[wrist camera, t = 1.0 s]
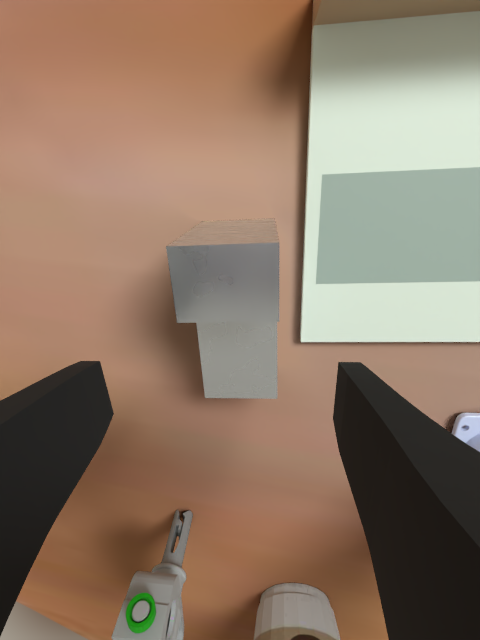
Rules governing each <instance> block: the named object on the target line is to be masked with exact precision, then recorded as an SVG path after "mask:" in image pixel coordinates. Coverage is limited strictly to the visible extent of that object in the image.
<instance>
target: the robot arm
mask: <svg viewBox="0 0 480 640" xmlns="http://www.w3.org/2000/svg"><path fill="white" fill-rule="evenodd" d="M113 414H114V413H113V410H112V406H111V402H110V398H109V394H108V390H107V387H106V383H105V379H104V375H103V371H102V367H101V364H100V361H80V362H78V363H75V364H73V365H70V366H68V367H66V368H64V369H62V370H60V371H58V372H56V373H54V374H52V375H50V376H48V377H46V378H44V379H42V380H40V381H38V382H36V383H34V384H32V385H30V386H29V387H27V388H25V389H23V390H21V391H19V392H17V393H15V394H13V395H11V396H9V397H7V398H5V399H3V400H1V401H0V636H1V633H2V631H3V629H4V626H5V624H6V621H7V619H8V617H9V615H10V613H11V610H12V608H13V606H14V604H15V602H16V600H17V597H18V595H19V593H20V591H21V589H22V586H23V584H24V582H25V580H26V578H27V575H28V573H29V571H30V569H31V567H32V565H33V563H34V561H35V559H36V557H37V555H38V553H39V551H40V549H41V547H42V545H43V542H44V540H45V538H46V536H47V534H48V532H49V531H50V529H51V527H52V525H53V523H54V522H55V520H56V518H57V516H58V515H59V513H60V511H61V510H62V508H63V506H64V505H65V503H66V501H67V500H68V498H69V496H70V495H71V493H72V491H73V490H74V488H75V486H76V485H77V483H78V481H79V480H80V478H81V477H82V475H83V473H84V472H85V470H86V468H87V467H88V465H89V463H90V461H91V460H92V458H93V456H94V455H95V453H96V451H97V450H98V448H99V446H100V444H101V442H102V440H103V438H104V436H105V433H106V431H107V429H108V426H109V424H110V421H111V419H112V417H113ZM333 421H334V426H335V432H336V437H337V443H338V448H339V452H340V455H341V459H342V462H343V465H344V468H345V471H346V475H347V478H348V481H349V484H350V487H351V491H352V494H353V497H354V500H355V503H356V506H357V509H358V513H359V516H360V519H361V522H362V525H363V528H364V532H365V535H366V539H367V543H368V546H369V550H370V554H371V558H372V563H373V567H374V572H375V576H376V581H377V585H378V590H379V594H380V599H381V604H382V609H383V613H384V618H385V623H386V628H387V633H388V637H389V640H480V413H462V414H459V415H458V416H457V418H456V420H455V424H454V427H453V430H452V433H450V432H449V431H447V430H446V429H444V428H443V427H442V426H440V425H439V424H437V423H436V422H435V421H433V420H432V419H430V418H429V417H428V416H426V415H425V414H424V413H422V412H421V411H420V410H418V409H417V408H416V407H414V406H413V405H412V404H411V403H409V402H408V401H407V400H406V399H404V398H403V397H402V396H401V395H399V394H398V393H397V392H396V391H394V390H393V389H392V388H391V387H390V386H388V385H387V384H386V383H385V382H384V381H382V380H381V379H380V378H379V377H378V376H377V375H375V374H374V373H373V372H372V371H371V370H369V369H368V368H367V367H366V366H364V365H363V364H362V363H361V362H339V363H338V373H337V383H336V394H335V404H334V414H333ZM464 425H465V426H464ZM462 426H463V427H462Z"/></svg>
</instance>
